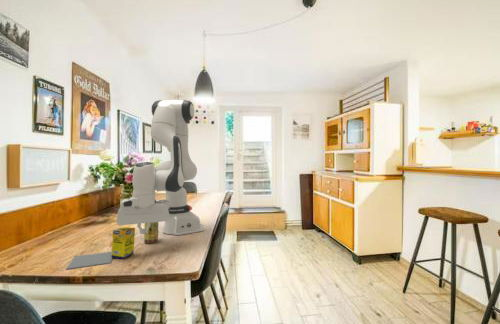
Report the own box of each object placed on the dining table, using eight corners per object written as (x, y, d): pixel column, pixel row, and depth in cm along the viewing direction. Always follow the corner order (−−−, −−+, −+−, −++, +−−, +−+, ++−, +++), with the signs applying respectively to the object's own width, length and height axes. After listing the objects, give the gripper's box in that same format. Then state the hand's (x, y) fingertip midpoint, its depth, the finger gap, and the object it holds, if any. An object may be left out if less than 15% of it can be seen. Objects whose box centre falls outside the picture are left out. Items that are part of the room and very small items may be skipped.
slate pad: (114, 252, 102) (114, 251, 102) (110, 263, 91) (110, 262, 91) (75, 257, 96) (75, 256, 96) (65, 269, 85) (65, 268, 85)
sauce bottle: (149, 245, 110) (149, 202, 110) (141, 242, 114) (141, 200, 114) (161, 240, 116) (161, 200, 116) (153, 238, 119) (153, 199, 119)
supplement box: (123, 259, 94) (125, 231, 94) (110, 257, 95) (112, 229, 96) (134, 253, 100) (135, 227, 100) (121, 252, 101) (123, 226, 101)
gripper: (169, 198, 108) (169, 228, 108) (117, 200, 100) (117, 234, 100) (170, 200, 102) (170, 232, 102) (115, 203, 94) (115, 238, 94)
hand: (143, 233), depth 101 cm, fingers closed
